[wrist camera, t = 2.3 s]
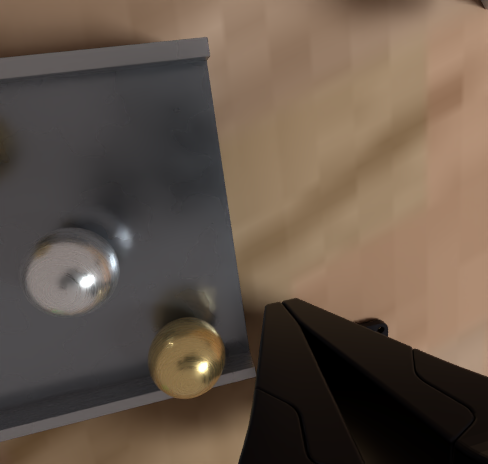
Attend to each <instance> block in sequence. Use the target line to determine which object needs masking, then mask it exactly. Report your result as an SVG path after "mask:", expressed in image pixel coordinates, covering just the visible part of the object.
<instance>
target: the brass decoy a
mask: <svg viewBox="0 0 488 464" xmlns="http://www.w3.org/2000/svg"><path fill="white" fill-rule="evenodd" d="M224 365H225V347H224V343H223V340H222V338H221V336H220V335H219V333H218V331H217V330H216V329H215V328H214V327H213V326H212V325H210V324H209V323H207V322H206V321H203V320H201V319H198V318H193V317H185V318H179V319H176V320H174V321H171V322H170V323H168V324H167V325H165V326H164V327H163V328H162V329H160V331H159V332H158V333H157V334H156V336H155V337H154V339H153V341H152V343H151V345H150V348H149V353H148V368H149V372H150V375H151V377H152V380H153V381H154V383H155V384H156V385H157V387H158V388H159V389H160V390H161V391H163V392H164V393H166V394H167V395H169V396H171V397H175V398H179V399H190V398H195V397H198V396H200V395H202V394H204V393H206V392H207V391H209V390H210V389H211V388H212V387H213V386H214V385H215V384H216V382H217V381H218V380H219V378H220V376H221V374H222V372H223V369H224Z"/></svg>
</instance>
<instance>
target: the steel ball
mask: <svg viewBox="0 0 488 464" xmlns="http://www.w3.org/2000/svg"><path fill="white" fill-rule="evenodd" d="M119 272H120V269H119V261H118V258H117V255H116V253H115V251H114V249H113V248H112V246H111V245H110V244H109V243H108V242H107V241H106V240H105V239H104V238H103V237H101V236H100V235H98V234H97V233H95V232H92V231H90V230H86V229H82V228H62V229H57V230H54V231H51V232H49V233H47V234H45V235H43V236H42V237H40V238H39V239H37V240H36V241H35V242H34V243H33V244H32V245H31V246H30V247H29V249H28V250H27V251H26V253H25V255H24V256H23V259H22V262H21V264H20V270H19V280H20V285H21V288H22V291H23V293H24V295H25V297H26V298H27V300H28V301H29V302H30V303H31V304H32V305H33V306H34V307H36V308H37V309H38V310H40V311H42V312H44V313H46V314H48V315H51V316H55V317H61V318H73V317H79V316H82V315H86V314H88V313H91V312H93V311H94V310H96V309H98V308H99V307H100V306H102V305H103V304H104V303H105V302H106V301H107V300H108V299H109V298H110V297H111V295H112V294H113V292H114V290H115V288H116V286H117V283H118V280H119Z"/></svg>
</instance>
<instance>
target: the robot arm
mask: <svg viewBox="0 0 488 464" xmlns="http://www.w3.org/2000/svg"><path fill="white" fill-rule="evenodd" d="M379 327H381V328H380V329H378V328H379ZM238 464H488V377H487V376H484V375H481V374H479V373H476V372H473V371H470V370H468V369H465V368H462V367H459V366H457V365H454V364H452V363H449V362H447V361H444V360H442V359H439V358H437V357H434V356H432V355H430V354H427V353H425V352H423V351H420V350H418V349H412V347H411V346H408V345H406V344H403V343H401V342H399V341H396V340H394V339H392V338H389V337H388V326H387V325H386V324H385V323H384V322H383V321H382V320H376V321H371V322H367V323H363V324H356V323H354V322H352V321H349V320H347V319H345V318H342V317H340V316H338V315H335V314H333V313H331V312H328V311H326V310H324V309H321V308H319V307H317V306H314V305H312V304H309V303H307V302H305V301H302V300H300V299H297V298H294V299H290V300H285V301H283V302H282V303H281V302H276V303H272V304H267V305H266V306H265V310H264V318H263V326H262V334H261V342H260V350H259V358H258V366H257V374H256V382H255V391H254V396H253V403H252V409H251V415H250V421H249V426H248V430H247V434H246V437H245V441H244V445H243V449H242V452H241V456H240V459H239V462H238Z"/></svg>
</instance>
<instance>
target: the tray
mask: <svg viewBox="0 0 488 464" xmlns="http://www.w3.org/2000/svg"><path fill="white" fill-rule="evenodd" d="M209 57H210V52H209V45H208V38H207V37H203V38H193V39H183V40H173V41H163V42H153V43H144V44H134V45H124V46H114V47H104V48H94V49H84V50H75V51H65V52H55V53H45V54H35V55H25V56H16V57H6V58H0V442H1V441H5V440H9V439H13V438H17V437H21V436H25V435H29V434H33V433H37V432H41V431H45V430H48V429H52V428H56V427H60V426H64V425H68V424H72V423H76V422H80V421H84V420H88V419H92V418H96V417H99V416H103V415H107V414H111V413H115V412H119V411H123V410H127V409H131V408H135V407H139V406H143V405H147V404H151V403H154V402H158V401H162V400H166V399H170V398H174V397H171V396H169V395H167V394H166V393H164V392H163V391H161V390H160V389H159V388H158V387H157V385H156V384H155V383H154V381H153V380H152V377H151V375H150V372H149V368H148V353H149V348H150V345H151V343H152V341H153V339H154V337H155V336H156V334H157V333H158V332H159V331H160V329H162V328H163V327H164V326H165V325H167V324H168V323H170V322H171V321H174V320H176V319H179V318H185V317H193V318H198V319H201V320H203V321H206V322H207V323H209V324H210V325H212V326H213V327H214V328H215V329H216V330H217V331H218V333H219V335H220V336H221V338H222V340H223V343H224V347H225V365H224V369H223V372H222V374H221V376H220V378H219V380H218V381H217V382H216V384H215V385H214V386H213V387H217V386H221V385H225V384H229V383H233V382H237V381H241V380H245V379H249V378H253V377H256V372H255V366H254V363H253V360H252V357H251V354H250V351H249V344H248V338H247V331H246V324H245V317H244V311H243V304H242V297H241V290H240V283H239V277H238V270H237V263H236V256H235V250H234V243H233V236H232V229H231V222H230V216H229V209H228V202H227V195H226V189H225V182H224V175H223V168H222V161H221V155H220V148H219V141H218V134H217V128H216V121H215V114H214V107H213V100H212V94H211V87H210V80H209V73H208V67H207V60H208V58H209ZM62 228H82V229H86V230H90V231H92V232H95V233H97V234H98V235H100V236H101V237H103V238H104V239H105V240H106V241H107V242H108V243H109V244H110V245H111V246H112V248H113V249H114V251H115V253H116V255H117V258H118V261H119V269H120V272H119V280H118V283H117V286H116V288H115V290H114V292H113V294H112V295H111V297H110V298H109V299H108V300H107V301H106V302H105V303H104V304H103V305H102V306H100V307H99V308H98V309H96V310H94V311H93V312H91V313H88V314H86V315H82V316H79V317H73V318H61V317H55V316H51V315H48V314H46V313H44V312H42V311H40V310H38V309H37V308H36V307H34V306H33V305H32V304H31V303H30V302H29V301H28V300H27V298H26V297H25V295H24V293H23V291H22V288H21V285H20V280H19V270H20V264H21V262H22V259H23V256H24V255H25V253H26V251H27V250H28V249H29V247H30V246H31V245H32V244H33V243H34V242H35V241H36V240H37V239H39V238H40V237H42V236H43V235H45V234H47V233H49V232H51V231H54V230H57V229H62ZM213 387H212V388H213Z"/></svg>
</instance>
